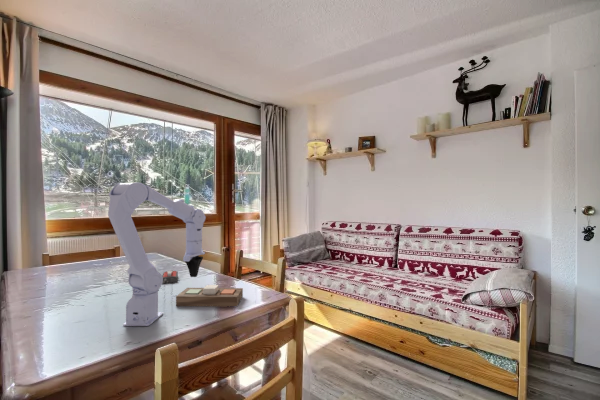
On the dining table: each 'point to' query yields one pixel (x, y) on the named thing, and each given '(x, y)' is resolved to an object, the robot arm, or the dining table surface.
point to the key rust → (228, 292)
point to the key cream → (210, 289)
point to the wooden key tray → (209, 298)
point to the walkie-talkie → (170, 276)
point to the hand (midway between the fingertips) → (193, 276)
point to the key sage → (194, 291)
